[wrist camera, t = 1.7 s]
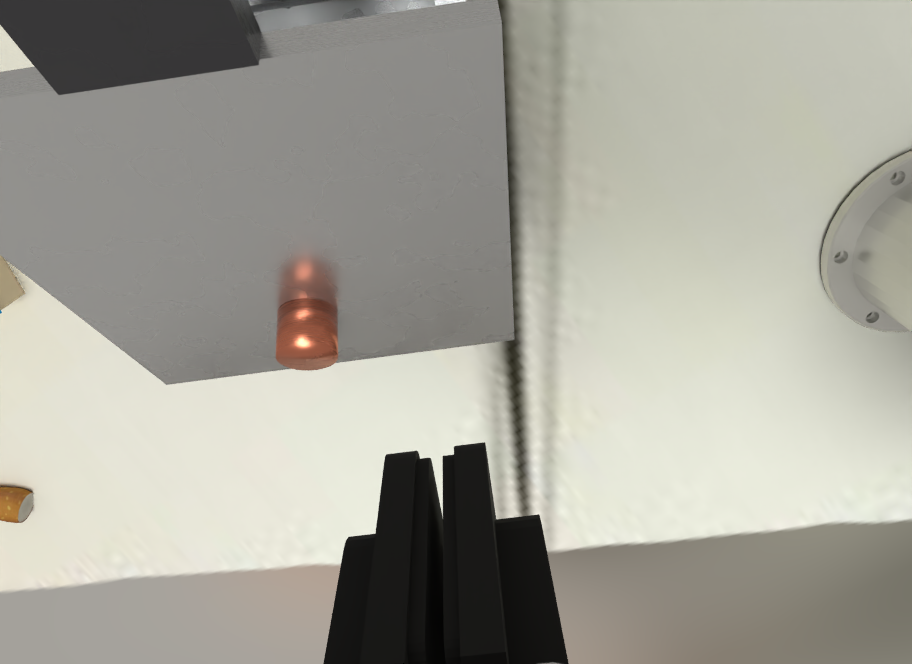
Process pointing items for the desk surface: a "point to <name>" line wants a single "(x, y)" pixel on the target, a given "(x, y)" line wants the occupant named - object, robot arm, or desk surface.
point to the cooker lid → (259, 180)
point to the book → (8, 285)
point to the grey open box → (327, 10)
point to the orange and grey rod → (15, 504)
